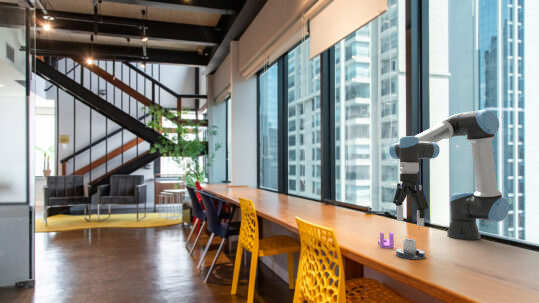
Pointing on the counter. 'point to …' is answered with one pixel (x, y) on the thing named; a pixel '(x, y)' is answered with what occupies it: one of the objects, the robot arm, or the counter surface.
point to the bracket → (386, 241)
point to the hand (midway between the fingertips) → (409, 223)
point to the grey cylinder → (409, 246)
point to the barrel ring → (410, 254)
